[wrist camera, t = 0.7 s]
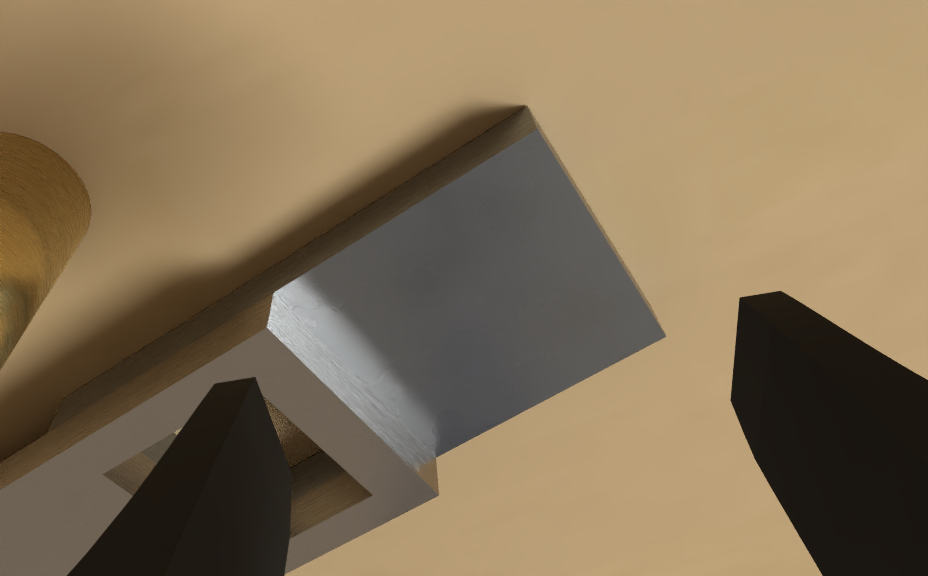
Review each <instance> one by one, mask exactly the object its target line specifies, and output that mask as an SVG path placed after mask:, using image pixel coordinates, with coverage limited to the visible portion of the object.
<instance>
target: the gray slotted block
mask: <svg viewBox="0 0 928 576" xmlns="http://www.w3.org/2000/svg"><path fill="white" fill-rule="evenodd" d="M664 337H666V335H665V333H664V331H663V329H662V327H661V325H660V323H659V321H658V319H657V317H656V315H655V313H654V312H653V310H652V308H651V306H650V304H649V303H648V301H647V299H646V298H645V296H644V294H643V293H642V291H641V290H640V288H639V286H638V285H637V283H636V281H635V280H634V278H633V277H632V275H631V273H630V272H629V270H628V269H627V267H626V265H625V264H624V262H623V260H622V259H621V257H620V256H619V254H618V252H617V251H616V249H615V247H614V246H613V244H612V243H611V241H610V239H609V238H608V236H607V234H606V233H605V231H604V230H603V228H602V226H601V225H600V223H599V221H598V220H597V218H596V217H595V215H594V213H593V212H592V210H591V208H590V207H589V205H588V204H587V202H586V200H585V199H584V197H583V196H582V194H581V192H580V191H579V189H578V187H577V186H576V184H575V183H574V181H573V179H572V178H571V176H570V174H569V173H568V171H567V170H566V168H565V166H564V165H563V163H562V161H561V160H560V158H559V157H558V155H557V153H556V152H555V150H554V148H553V147H552V145H551V144H550V142H549V140H548V139H547V137H546V136H545V134H544V132H543V131H542V129H541V127H540V126H539V124H538V123H537V121H536V119H535V118H534V116H533V114H532V113H531V111H530V110H529V108H528V106H526V107H525V108H523V109H521V110H520V111H518V112H517V113H515V114H513V115H512V116H510V117H509V118H507V119H506V120H504V121H502V122H501V123H499V124H498V125H496V126H494V127H493V128H491V129H490V130H488V131H487V132H485V133H483V134H482V135H480V136H479V137H477V138H475V139H474V140H472V141H471V142H469V143H468V144H466V145H464V146H463V147H461V148H460V149H458V150H456V151H455V152H453V153H452V154H450V155H449V156H447V157H445V158H444V159H442V160H441V161H439V162H437V163H436V164H434V165H433V166H431V167H430V168H428V169H426V170H425V171H423V172H422V173H420V174H418V175H417V176H415V177H414V178H412V179H411V180H409V181H407V182H406V183H404V184H403V185H401V186H399V187H398V188H396V189H395V190H393V191H392V192H390V193H388V194H387V195H385V196H384V197H382V198H380V199H379V200H377V201H376V202H374V203H373V204H371V205H369V206H368V207H366V208H365V209H363V210H361V211H360V212H358V213H357V214H355V215H354V216H352V217H350V218H349V219H347V220H346V221H344V222H342V223H341V224H339V225H338V226H336V227H335V228H333V229H331V230H330V231H328V232H327V233H325V234H323V235H322V236H320V237H319V238H317V239H316V240H314V241H312V242H311V243H309V244H308V245H306V246H304V247H303V248H301V249H300V250H298V251H297V252H295V253H293V254H292V255H290V256H289V257H287V258H285V259H284V260H282V261H281V262H279V263H278V264H276V265H274V266H273V267H271V268H270V269H268V270H266V271H265V272H263V273H262V274H260V275H259V276H257V277H255V278H254V279H252V280H251V281H249V282H247V283H246V284H244V285H243V286H241V287H240V288H238V289H236V290H235V291H233V292H232V293H230V294H228V295H227V296H225V297H224V298H222V299H221V300H219V301H217V302H216V303H214V304H213V305H211V306H209V307H208V308H206V309H205V310H203V311H202V312H200V313H198V314H197V315H195V316H194V317H192V318H190V319H189V320H187V321H186V322H184V323H183V324H181V325H179V326H178V327H176V328H175V329H173V330H171V331H170V332H168V333H167V334H165V335H164V336H162V337H160V338H159V339H157V340H156V341H154V342H152V343H151V344H149V345H148V346H146V347H145V348H143V349H141V350H140V351H138V352H137V353H135V354H133V355H132V356H130V357H129V358H127V359H126V360H124V361H122V362H121V363H119V364H118V365H116V366H114V367H113V368H111V369H110V370H108V371H107V372H105V373H103V374H102V375H100V376H99V377H97V378H95V379H94V380H92V381H91V382H89V383H88V384H86V385H84V386H83V387H81V388H80V389H78V390H76V391H75V392H73V393H72V394H70V395H69V396H67V397H65V398H64V399H63V401H62V403H61V405H60V407H59V410H58V412H57V414H56V416H55V418H54V420H53V422H52V424H51V426H50V428H49V430H48V432H47V434H46V435H44V436H42V437H41V438H39V439H37V440H36V441H34V442H33V443H31V444H29V445H28V446H26V447H25V448H23V449H21V450H20V451H18V452H17V453H15V454H13V455H12V456H10V457H9V458H7V459H5V460H4V461H2V462H0V576H67V575H68V574H69V572H70V571H71V570H72V569H73V568H74V567H75V566H76V565H77V564H78V562H79V561H80V560H81V559H82V558H83V557H84V555H85V554H86V553H87V552H88V551H89V550H90V548H91V547H92V546H93V545H94V543H95V542H96V541H97V540H98V539H99V537H100V536H101V535H102V534H103V532H104V531H105V530H106V529H107V527H108V526H109V525H110V524H111V523H112V521H113V520H114V519H115V518H116V516H117V515H118V514H119V513H120V512H121V510H122V509H123V508H124V507H125V505H126V504H127V503H128V501H129V500H130V499H131V498H132V496H133V495H134V494H135V492H136V491H137V490H138V488H139V487H140V486H141V484H142V483H143V481H144V480H145V479H146V477H147V476H148V475H149V473H150V472H151V471H152V469H153V468H154V467H155V465H156V464H157V463H158V461H159V460H160V459H161V457H162V456H163V454H164V453H165V452H166V450H167V449H168V447H169V446H170V445H171V443H172V442H173V440H174V439H175V438H176V436H177V435H175V434H174V433H173V432H175V431H177V430H178V429H180V428H182V427H183V426H184V425H185V424H186V422H187V421H188V419H189V418H190V416H191V415H192V414H193V412H194V411H195V409H196V408H197V407H198V405H199V404H200V402H201V401H202V400H203V398H204V397H205V396H206V394H207V393H208V392H209V390H210V389H211V388H212V386H213V385H214V384H215V383H221V382H227V381H233V380H239V379H245V378H251V377H256V380H257V382H258V385H259V388H260V390H261V393H262V395H263V396H264V397H265V398H266V399H267V400H268V401H269V402H270V403H271V404H273V405H274V406H275V407H276V408H277V409H278V410H279V411H280V412H281V413H283V414H284V415H285V416H286V417H287V418H288V419H289V420H290V421H291V422H292V423H294V424H295V425H296V426H297V427H298V428H299V429H300V430H301V431H302V432H304V433H305V434H306V435H307V436H308V437H309V438H310V439H311V440H312V441H313V442H315V443H316V444H317V445H318V446H319V447H320V448H321V449H322V450H323V451H321V452H319V453H318V454H316V455H314V456H312V457H310V458H309V459H307V460H305V461H303V462H301V463H299V464H298V465H296V466H294V467H292V468H290V470H291V520H290V539H289V546H288V554H287V561H286V567H285V574H286V573H288V572H290V571H292V570H294V569H296V568H298V567H300V566H302V565H304V564H306V563H308V562H310V561H312V560H314V559H316V558H318V557H320V556H322V555H324V554H325V553H327V552H329V551H331V550H333V549H335V548H337V547H339V546H341V545H343V544H345V543H347V542H349V541H351V540H353V539H355V538H357V537H359V536H361V535H363V534H365V533H367V532H368V531H370V530H372V529H374V528H376V527H378V526H380V525H382V524H384V523H386V522H388V521H390V520H392V519H394V518H396V517H398V516H400V515H402V514H404V513H406V512H408V511H410V510H411V509H413V508H415V507H417V506H419V505H421V504H423V503H425V502H427V501H429V500H431V499H433V498H435V497H437V496H439V490H438V478H437V467H436V457H438V456H440V455H442V454H444V453H446V452H447V451H449V450H451V449H453V448H455V447H457V446H459V445H461V444H463V443H465V442H466V441H468V440H470V439H472V438H474V437H476V436H478V435H480V434H482V433H484V432H486V431H487V430H489V429H491V428H493V427H495V426H497V425H499V424H501V423H503V422H505V421H506V420H508V419H510V418H512V417H514V416H516V415H518V414H520V413H522V412H524V411H525V410H527V409H529V408H531V407H533V406H535V405H537V404H539V403H541V402H543V401H544V400H546V399H548V398H550V397H552V396H554V395H556V394H558V393H560V392H562V391H563V390H565V389H567V388H569V387H571V386H573V385H575V384H577V383H579V382H581V381H583V380H584V379H586V378H588V377H590V376H592V375H594V374H596V373H598V372H600V371H602V370H603V369H605V368H607V367H609V366H611V365H613V364H615V363H617V362H619V361H621V360H622V359H624V358H626V357H628V356H630V355H632V354H634V353H636V352H638V351H640V350H641V349H643V348H645V347H647V346H649V345H651V344H653V343H655V342H657V341H659V340H660V339H662V338H664Z"/></svg>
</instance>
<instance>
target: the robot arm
mask: <svg viewBox="0 0 928 576" xmlns="http://www.w3.org/2000/svg"><path fill="white" fill-rule="evenodd" d="M731 403H732V405H733V407H734V410H735V412H736V415H737V417H738V420H739V422H740V425H741V427H742V430H743V432H744V435H745V437H746V439H747V442H748V444H749V446H750V449H751V451H752V453H753V455H754V458H755V460H756V462H757V463H758V465H759V467H760V469H761V471H762V472H763V474H764V476H765V478H766V479H767V481H768V483H769V485H770V486H771V488H772V490H773V491H774V493H775V495H776V497H777V498H778V500H779V502H780V504H781V505H782V507H783V509H784V510H785V512H786V514H787V516H788V517H789V519H790V521H791V522H792V524H793V526H794V528H795V529H796V531H797V533H798V534H799V536H800V538H801V539H802V541H803V543H804V545H805V546H806V548H807V550H808V551H809V553H810V555H811V556H812V558H813V560H814V562H815V563H816V565H817V567H818V568H819V570H820V572H821V574H822V575H823V576H928V380H927V379H925V378H923V377H921V376H920V375H918V374H916V373H914V372H913V371H911V370H909V369H908V368H906V367H904V366H902V365H901V364H899V363H897V362H896V361H894V360H892V359H891V358H889V357H887V356H886V355H884V354H882V353H881V352H879V351H877V350H876V349H874V348H873V347H871V346H869V345H868V344H866V343H864V342H863V341H861V340H860V339H858V338H856V337H855V336H853V335H852V334H850V333H848V332H847V331H845V330H844V329H842V328H840V327H839V326H837V325H836V324H834V323H832V322H831V321H829V320H828V319H826V318H824V317H823V316H821V315H820V314H818V313H816V312H815V311H813V310H812V309H810V308H809V307H807V306H805V305H804V304H802V303H800V302H799V301H797V300H795V299H794V298H792V297H790V296H789V295H787V294H785V293H783V292H782V291H777V292H771V293H765V294H759V295H753V296H747V297H740V300H739V311H738V323H737V334H736V345H735V357H734V368H733V380H732V391H731ZM290 520H291V470H290V468H289V465H288V462H287V460H286V457H285V454H284V452H283V449H282V446H281V444H280V441H279V438H278V436H277V433H276V430H275V428H274V425H273V422H272V420H271V417H270V414H269V412H268V409H267V406H266V404H265V401H264V398H263V396H262V393H261V390H260V388H259V385H258V382H257V380H256V377H251V378H245V379H239V380H233V381H227V382H221V383H215V384H214V385H213V386H212V388H211V389H210V390H209V392H208V393H207V394H206V396H205V397H204V398H203V400H202V401H201V402H200V404H199V405H198V407H197V408H196V409H195V411H194V412H193V414H192V415H191V416H190V418H189V419H188V421H187V422H186V424H185V425H184V426H183V428H182V429H181V431H180V432H179V433H178V435H177V436H176V438H175V439H174V440H173V442H172V443H171V445H170V446H169V447H168V449H167V450H166V452H165V453H164V454H163V456H162V457H161V459H160V460H159V461H158V463H157V464H156V465H155V467H154V468H153V469H152V471H151V472H150V473H149V475H148V476H147V477H146V479H145V480H144V481H143V483H142V484H141V486H140V487H139V488H138V490H137V491H136V492H135V494H134V495H133V496H132V498H131V499H130V500H129V501H128V503H127V504H126V505H125V507H124V508H123V509H122V510H121V512H120V513H119V514H118V515H117V516H116V518H115V519H114V520H113V521H112V523H111V524H110V525H109V526H108V527H107V529H106V530H105V531H104V532H103V534H102V535H101V536H100V537H99V539H98V540H97V541H96V542H95V543H94V545H93V546H92V547H91V548H90V550H89V551H88V552H87V553H86V554H85V555H84V557H83V558H82V559H81V560H80V561H79V562H78V564H77V565H76V566H75V567H74V568H73V569H72V570H71V571H70V572H69V574H68V575H67V576H284V574H285V567H286V561H287V554H288V546H289V539H290Z"/></svg>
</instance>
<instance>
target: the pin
mask: <svg viewBox="0 0 928 576" xmlns="http://www.w3.org/2000/svg"><path fill="white" fill-rule="evenodd" d="M90 219H91V205H90V200H89V196H88V193H87V190H86V188H85V186H84V184H83V182H82V181H81V179H80V178H79V176H78V174H77V173H76V172H75V171H74V170H73V168H72V167H71V166H70V165H69V164H68V163H67V162H66V161H65V160H64V159H63V158H61V157H60V156H59V155H58V154H56V153H55V152H54V151H52V150H50V149H49V148H47V147H46V146H44V145H42V144H40V143H38V142H36V141H33V140H31V139H28V138H26V137H22V136H19V135H15V134H9V133H2V132H0V370H1V368H2V367H3V365H4V364H5V362H6V360H7V359H8V357H9V356H10V354H11V352H12V351H13V349H14V348H15V346H16V344H17V343H18V341H19V340H20V338H21V336H22V335H23V333H24V332H25V330H26V328H27V327H28V325H29V324H30V322H31V320H32V319H33V317H34V316H35V314H36V312H37V311H38V309H39V308H40V306H41V304H42V303H43V301H44V300H45V298H46V297H47V295H48V293H49V292H50V290H51V289H52V287H53V285H54V284H55V282H56V281H57V279H58V277H59V276H60V274H61V273H62V271H63V269H64V268H65V266H66V265H67V263H68V261H69V260H70V258H71V257H72V255H73V253H74V252H75V250H76V249H77V247H78V245H79V244H80V242H81V241H82V239H83V237H84V236H85V234H86V232H87V230H88V227H89V224H90Z"/></svg>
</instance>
